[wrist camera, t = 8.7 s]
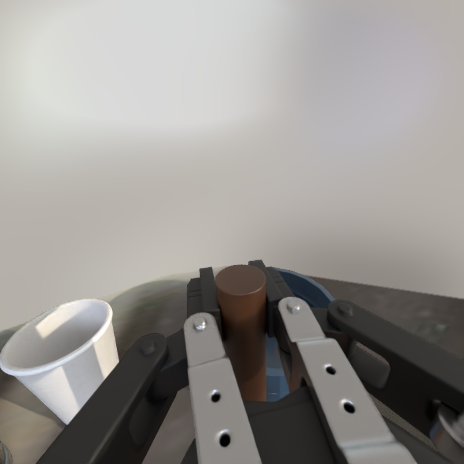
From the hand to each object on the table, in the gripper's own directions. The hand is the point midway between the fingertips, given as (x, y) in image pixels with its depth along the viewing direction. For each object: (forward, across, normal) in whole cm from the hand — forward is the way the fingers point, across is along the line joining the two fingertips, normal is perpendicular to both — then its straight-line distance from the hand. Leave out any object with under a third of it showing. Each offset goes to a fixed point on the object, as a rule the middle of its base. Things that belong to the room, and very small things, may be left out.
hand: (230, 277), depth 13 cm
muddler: (-3, 0, +13) cm, 13 cm away
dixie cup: (+7, +15, +18) cm, 24 cm away
